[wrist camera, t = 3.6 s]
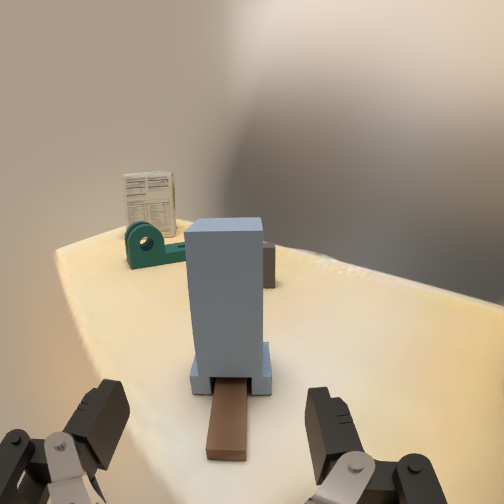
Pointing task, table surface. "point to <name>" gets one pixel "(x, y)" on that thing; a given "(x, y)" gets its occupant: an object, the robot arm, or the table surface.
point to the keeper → (227, 302)
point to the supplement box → (151, 200)
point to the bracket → (150, 247)
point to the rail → (228, 420)
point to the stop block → (268, 265)
